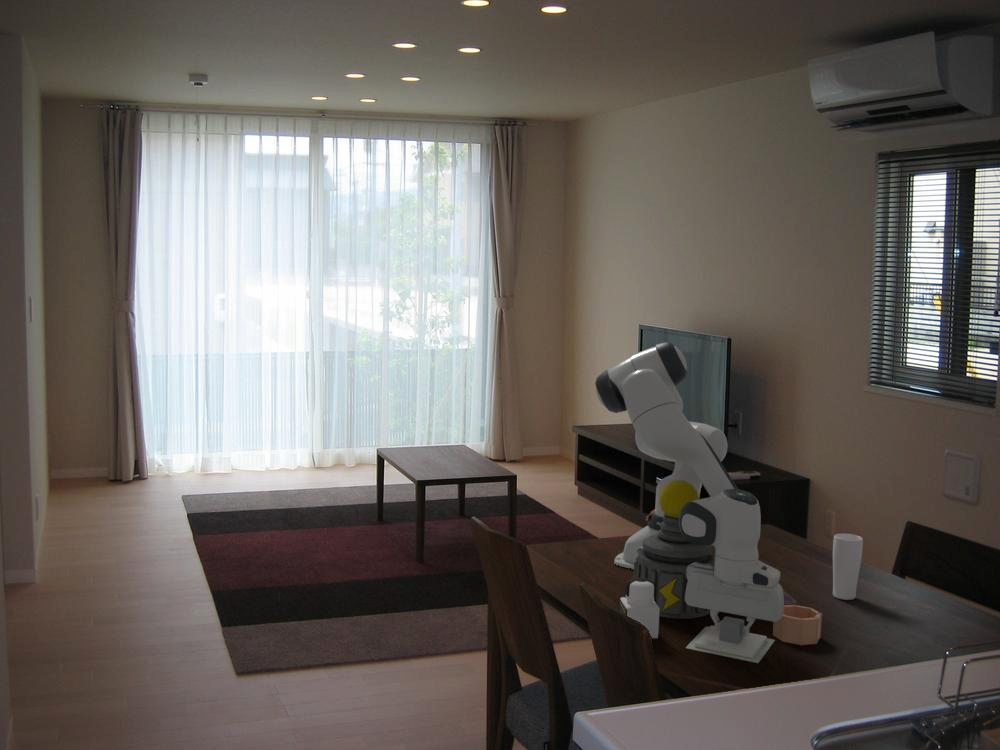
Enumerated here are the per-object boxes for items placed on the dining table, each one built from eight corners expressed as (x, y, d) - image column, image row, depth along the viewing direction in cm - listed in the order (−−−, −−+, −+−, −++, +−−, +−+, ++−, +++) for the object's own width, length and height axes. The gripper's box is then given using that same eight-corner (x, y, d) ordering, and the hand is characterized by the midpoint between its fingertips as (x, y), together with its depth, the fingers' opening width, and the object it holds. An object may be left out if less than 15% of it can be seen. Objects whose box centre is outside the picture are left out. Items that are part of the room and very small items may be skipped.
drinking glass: (860, 603, 250) (865, 541, 249) (830, 600, 252) (835, 539, 250) (856, 594, 257) (861, 534, 255) (827, 591, 258) (832, 532, 257)
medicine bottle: (618, 628, 227) (620, 574, 226) (650, 628, 228) (653, 575, 226) (624, 640, 220) (627, 585, 218) (658, 640, 220) (661, 585, 219)
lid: (694, 646, 216) (696, 623, 215) (711, 628, 227) (712, 607, 226) (752, 658, 211) (754, 635, 210) (766, 639, 221) (768, 617, 221)
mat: (685, 650, 215) (685, 647, 215) (705, 628, 229) (706, 626, 229) (758, 665, 209) (758, 662, 208) (775, 642, 222) (775, 639, 222)
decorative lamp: (717, 600, 248) (725, 476, 245) (711, 626, 230) (719, 493, 227) (638, 591, 253) (644, 469, 250) (626, 616, 235) (633, 485, 232)
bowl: (769, 641, 222) (771, 614, 222) (779, 628, 230) (780, 602, 230) (814, 650, 218) (816, 622, 217) (822, 636, 226) (824, 610, 226)
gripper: (682, 564, 219) (678, 628, 220) (781, 581, 209) (777, 647, 211) (691, 557, 224) (687, 619, 226) (788, 573, 215) (783, 638, 217)
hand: (731, 633), depth 218 cm, fingers closed on lid, 4 cm apart
